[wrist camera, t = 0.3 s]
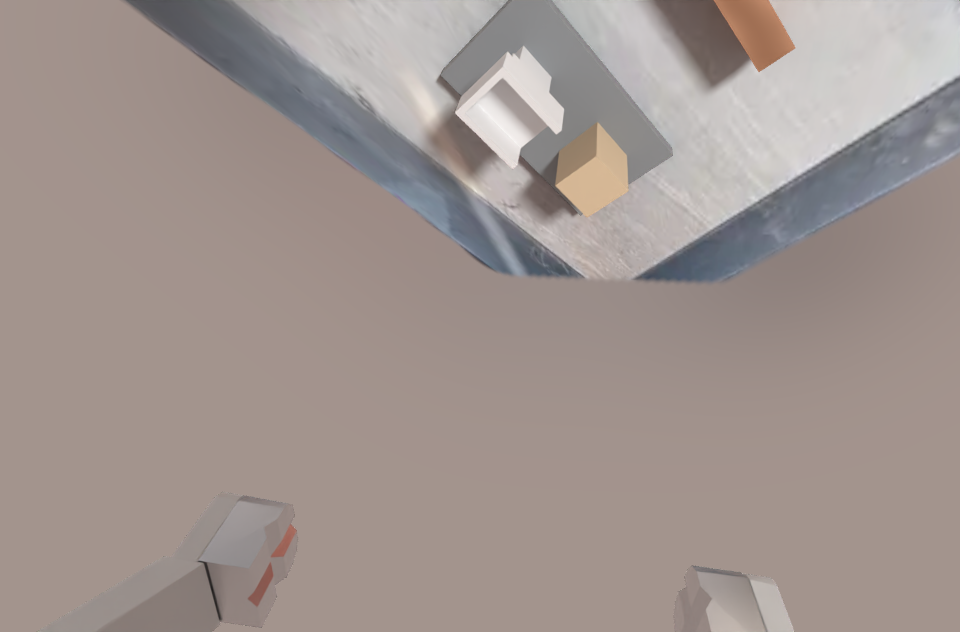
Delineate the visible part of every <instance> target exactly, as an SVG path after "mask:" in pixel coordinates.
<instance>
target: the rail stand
mask: <svg viewBox="0 0 960 632" xmlns="http://www.w3.org/2000/svg"><path fill="white" fill-rule="evenodd" d="M441 76H442V77H443V78H444V79H445V80H446V81H447V82H448V83H449V84H450V85H451V86H452V87H453V88H454V89H455V90H456V91H457V92H458V93H459V94H460V95H461V98H460V101H459V103H458V106H457V108H456V111H455V114H456V115H457V116H458V117H459V118H460V119H461V120H463V121H464V122H465V123H466V124H467V125H468V126H469V127H470V128H471V129H472V130H473V131H474V132H475V133H476V134H477V135H478V136H479V137H480V138H481V139H482V140H483V141H484V142H485V143H486V144H487V145H488V146H489V147H490V148H491V149H492V150H493V151H494V152H495V153H496V154H497V155H498V156H499V157H500V158H501V159H502V160H503V161H504V162H506V163H507V164H508V165H509V166H510V167H511V168H512V169H513V168H515V167H516V166H517V164H518V159H519V154H520V155H521V156H522V157H523V158H524V159H525V160H526V161H527V162H528V163H529V164H530V165H531V166H532V167H533V168H534V169H535V170H536V171H537V172H538V173H539V174H540V175H541V176H542V177H543V178H544V179H545V180H546V181H547V182H548V183H549V184H550V185H551V186H552V187H553V188H554V189H555V190H556V191H557V192H558V193H559V194H560V195H561V196H562V197H563V199H564V200H565V201H566V202H567V203H568V204H569V205H570V206H571V207H572V208H573V209H574V210H575V211H576V212H577V213H578V214H579V215H580V216H581V215H582V214H584V215H585V216H586V217H589V216H590V215H592V214H594V213H595V212H597V211H598V210H600V209H601V208H603V207H604V206H606V205H608V204H609V203H611V202H612V201H614V200H615V199H617V198H618V197H620V196H622V195H623V194H625V193H626V192H628V184H630V183H632V182H633V181H635V180H636V179H638V178H639V177H641V176H642V175H644V174H645V173H647V172H648V171H650V170H651V169H653V168H655V167H656V166H658V165H659V164H661V163H662V162H664V161H665V160H667V159H668V158H670V157H671V156H673V152H672V147H671V146H670V145H669V144H668V143H667V141H666V140H665V139H664V138H663V136H662V135H661V134H660V133H659V132H658V130H657V129H656V128H655V127H654V125H653V124H652V123H651V122H650V121H649V119H648V118H647V117H646V116H645V114H644V113H643V112H642V111H641V110H640V108H639V107H638V106H637V105H636V103H635V102H634V101H633V100H632V98H631V97H630V96H629V95H628V94H627V92H626V91H625V90H624V89H623V87H622V86H621V85H620V84H619V83H618V81H617V80H616V79H615V78H614V76H613V75H612V74H611V73H610V72H609V70H608V69H607V68H606V67H605V65H604V64H603V63H602V62H601V61H600V59H599V58H598V57H597V56H596V54H595V53H594V52H593V51H592V49H591V48H590V47H589V46H588V45H587V43H586V42H585V41H584V40H583V38H582V37H581V36H580V35H579V34H578V32H577V31H576V30H575V29H574V27H573V26H572V25H571V24H570V23H569V21H568V20H567V19H566V18H565V16H564V15H563V14H562V13H561V12H560V10H559V9H558V8H557V7H556V5H555V4H554V3H553V2H552V0H508V2H507V3H506V4H505V5H504V6H503V7H502V8H501V9H500V10H499V11H498V12H497V13H496V14H495V15H494V16H493V17H492V18H491V19H490V20H489V21H488V23H487V24H486V25H485V26H484V27H483V28H482V29H481V30H480V31H479V32H478V33H477V34H476V35H475V36H474V37H473V38H472V39H471V40H470V41H469V43H468V44H467V45H466V46H465V47H464V48H463V49H462V50H461V51H460V52H459V53H458V54H457V55H456V56H455V57H454V58H453V59H452V60H451V61H450V62H449V64H448V65H447V66H446V67H445V68H444V69H443V71H442V73H441Z"/></svg>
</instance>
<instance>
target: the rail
mask: <svg viewBox="0 0 960 632" xmlns="http://www.w3.org/2000/svg"><path fill="white" fill-rule="evenodd" d="M714 2H715V3H716V5H717V6H718V8H719V10H720V11H721V13H722V14H723V16H724V18H725V19H726V21H727V22H728V24H729V26H730V27H731V29H732V30H733V32H734V34H735V35H736V37H737V38H738V40H739V41H740V43H741V45H742V46H743V48H744V49H745V51H746V53H747V54H748V56H749V57H750V59H751V61H752V62H753V64H754V65H755V67H756V69H757V70H758V72H760V71H762V70H763V69H765V68H766V67H768V66H769V65H771V64H772V63H774V62H775V61H777V60H778V59H780V58H781V57H783V56H784V55H786V54H787V53H789V52H790V51H792V50H793V49H795V46H794V44H793V42H792V41H791V39H790V37H789V35H788V34H787V32H786V30H785V28H784V26H783V25H782V23H781V21H780V19H779V18H778V16H777V14H776V12H775V11H774V9H773V7H772V5H771V4H770V2H769V0H714Z"/></svg>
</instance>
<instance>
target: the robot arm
mask: <svg viewBox="0 0 960 632" xmlns="http://www.w3.org/2000/svg"><path fill="white" fill-rule="evenodd" d="M294 516H295V514H294V509H293V505H292V504H287V503H282V502H276V501H270V500H266V499H260V498H255V497H249V496H244V495H238V494H232V493H225V492H221V493H220V494H218V495H217V496H216V497H214V498H213V500H212V501H211V502H210V504H209V505H208V507H207V508H206V509H205V511H204V512H203V513H202V515H201V516H200V518H199V519H198V520H197V522H196V523H195V525H194V526H193V527H192V529H191V530H190V532H189V533H188V534H187V536H186V537H185V538H184V540H183V541H182V543H181V544H180V545H179V547H178V548H177V549H176V551H175V552H174V553H173V555H172V557H166V556H163V557H162V558H160V559H158V560H157V561H155V562H153V563H152V564H150V565H148V566H147V567H145V568H143V569H142V570H140V571H138V572H137V573H135V574H133V575H131V576H130V577H128V578H126V579H125V580H123V581H121V582H120V583H118V584H116V585H115V586H113V587H111V588H109V589H108V590H106V591H105V592H103V593H101V594H99V595H98V596H96V597H94V598H93V599H91V600H89V601H88V602H86V603H84V604H82V605H81V606H79V607H77V608H76V609H74V610H72V611H71V612H69V613H67V614H66V615H64V616H62V617H61V618H59V619H57V620H56V621H54V622H52V623H51V624H49V625H47V626H45V627H44V628H42V629H40V630H39V631H37V632H212V631H214V630H215V629H216V628H217V627H218V626H219V625H220V622H224V623H231V624H238V625H245V626H252V627H259V628H262V626H263V624H264V622H265V620H266V618H267V616H268V614H269V612H270V610H271V608H272V606H273V604H274V602H275V600H276V598H277V594H276V588H275V585H276V584H277V583H279V582H280V581H281V580H283V579H284V578H286V577H287V575H288V573H289V571H290V569H291V567H292V565H293V561H294V558H295V554H296V551H297V542H298V536H297V530H296V529H295V528H294V527H293V526H292V525H291V522H292V520H293V518H294ZM685 582H686V588H684V589H682V590H680V591H679V593H678V595H677V598H676V601H675V609H674V628H675V632H794V630H793V627H792V624H791V622H790V619H789V616H788V614H787V611H786V608H785V606H784V604H783V601H782V598H781V595H780V593H779V590H778V588H777V585H776V583H775V582H774V581H773V580H772V578H769V577H763V576H757V575H750V574H742V573H741V572H734V571H727V570H720V569H713V568H706V567H699V566H691V567H689V568H688V569H687V572H686V574H685Z"/></svg>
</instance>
